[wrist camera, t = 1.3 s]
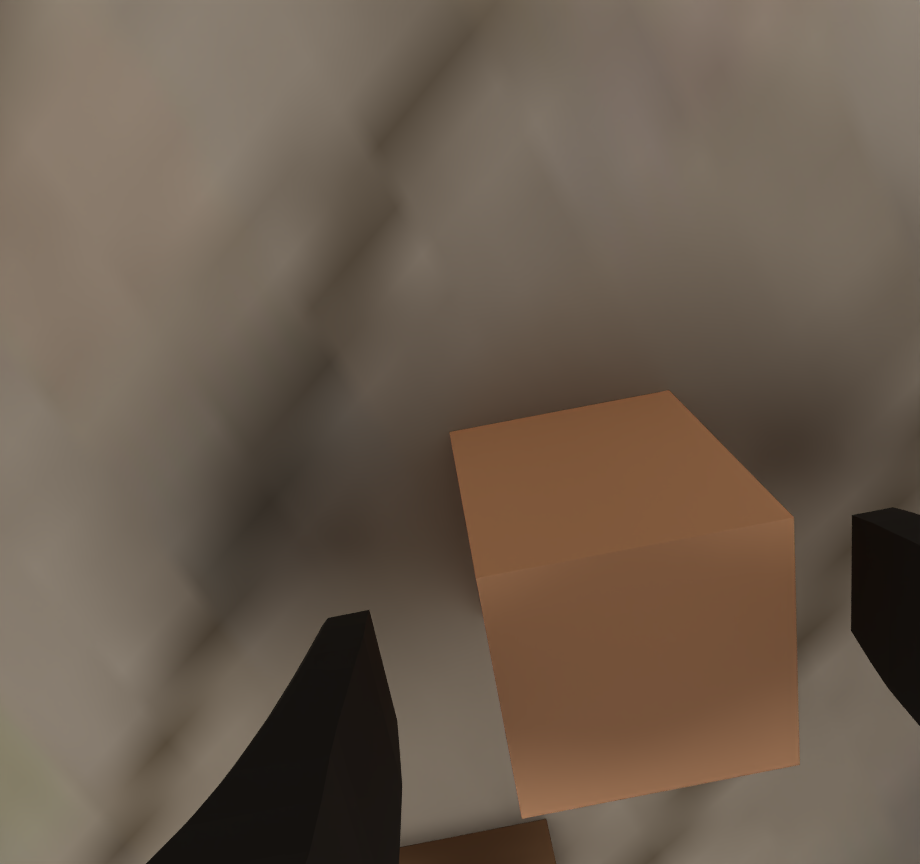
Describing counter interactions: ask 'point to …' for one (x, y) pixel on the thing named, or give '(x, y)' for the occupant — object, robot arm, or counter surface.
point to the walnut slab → (487, 847)
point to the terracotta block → (630, 602)
